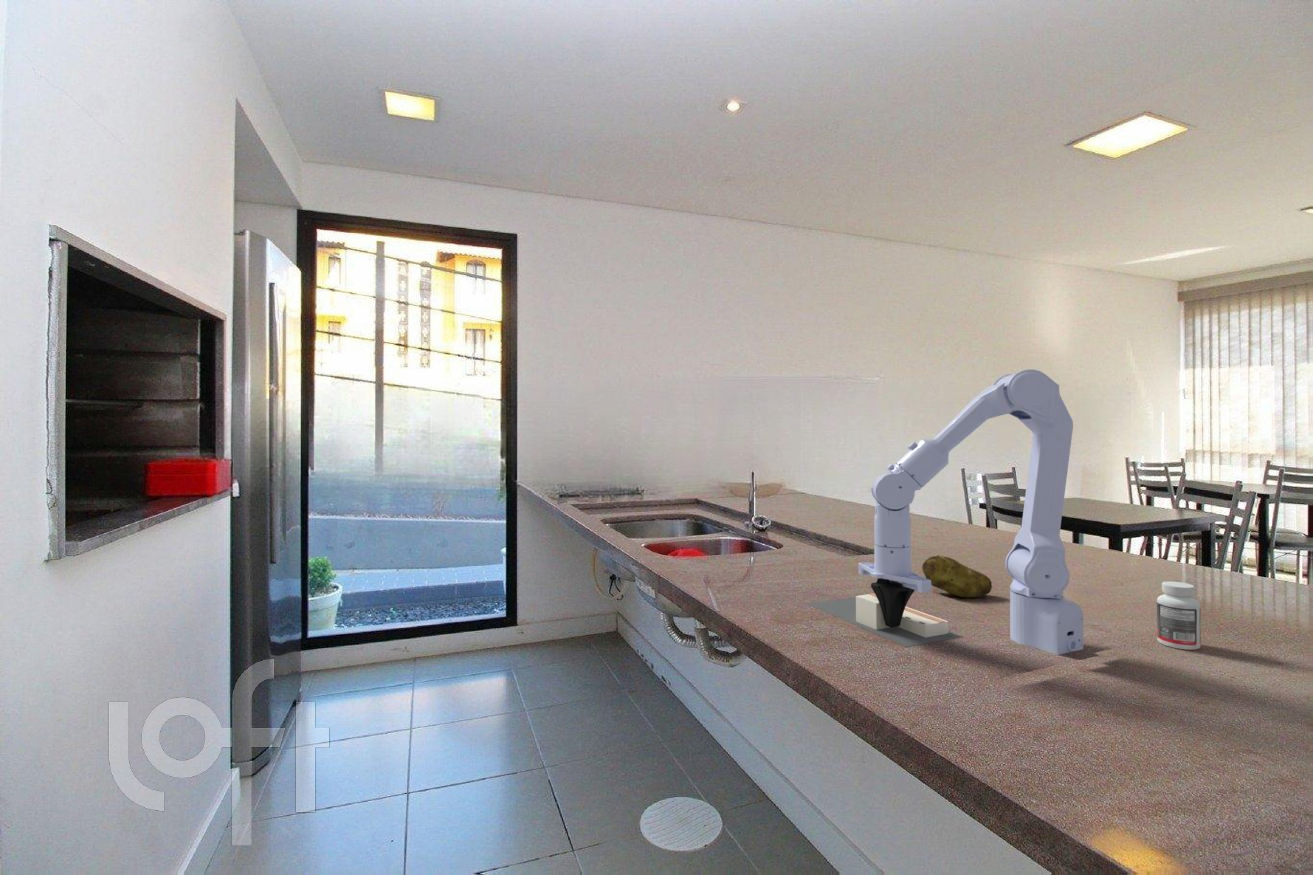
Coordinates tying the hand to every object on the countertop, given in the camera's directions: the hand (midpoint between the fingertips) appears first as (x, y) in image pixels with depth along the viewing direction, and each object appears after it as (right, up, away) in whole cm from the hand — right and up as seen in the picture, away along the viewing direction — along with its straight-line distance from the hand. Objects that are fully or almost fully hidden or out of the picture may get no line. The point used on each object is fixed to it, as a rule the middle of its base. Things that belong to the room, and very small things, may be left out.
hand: (892, 625), depth 102 cm
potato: (+24, -2, +26) cm, 35 cm away
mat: (0, -2, +7) cm, 7 cm away
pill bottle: (+44, -2, -4) cm, 45 cm away
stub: (-2, -1, +4) cm, 4 cm away
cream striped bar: (+4, -1, +4) cm, 6 cm away
